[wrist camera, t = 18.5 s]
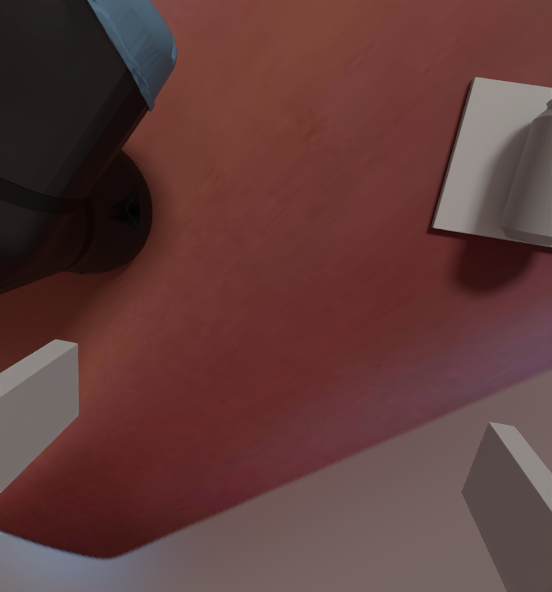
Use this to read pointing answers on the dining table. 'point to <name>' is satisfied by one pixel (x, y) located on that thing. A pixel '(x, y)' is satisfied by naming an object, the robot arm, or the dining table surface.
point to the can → (532, 187)
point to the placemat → (487, 155)
